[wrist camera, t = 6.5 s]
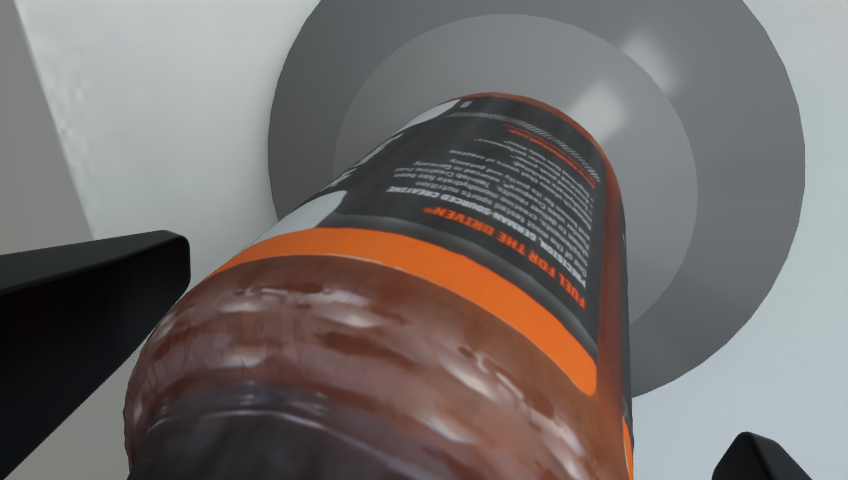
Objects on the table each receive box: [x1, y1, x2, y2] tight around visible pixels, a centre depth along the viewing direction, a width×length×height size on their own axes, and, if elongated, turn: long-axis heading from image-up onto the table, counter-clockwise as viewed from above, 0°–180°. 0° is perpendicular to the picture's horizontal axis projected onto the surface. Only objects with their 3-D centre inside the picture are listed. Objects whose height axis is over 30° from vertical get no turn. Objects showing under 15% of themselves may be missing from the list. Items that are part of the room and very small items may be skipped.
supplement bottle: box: [123, 92, 634, 480], centre depth 8 cm, size 6×6×11 cm
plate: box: [268, 0, 805, 398], centre depth 14 cm, size 13×13×1 cm
